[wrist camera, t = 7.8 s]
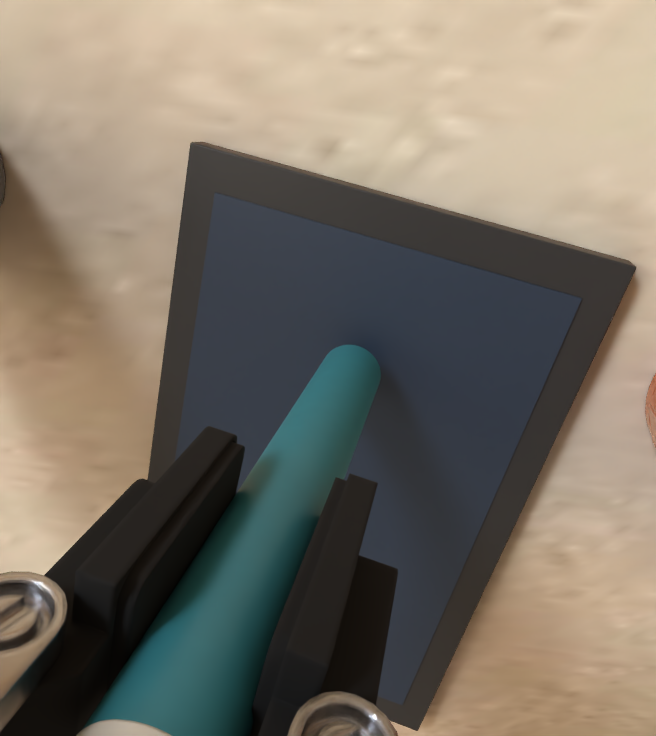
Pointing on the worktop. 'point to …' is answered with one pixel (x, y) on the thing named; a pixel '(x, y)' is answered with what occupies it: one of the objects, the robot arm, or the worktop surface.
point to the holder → (651, 409)
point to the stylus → (243, 572)
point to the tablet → (385, 367)
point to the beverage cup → (2, 181)
